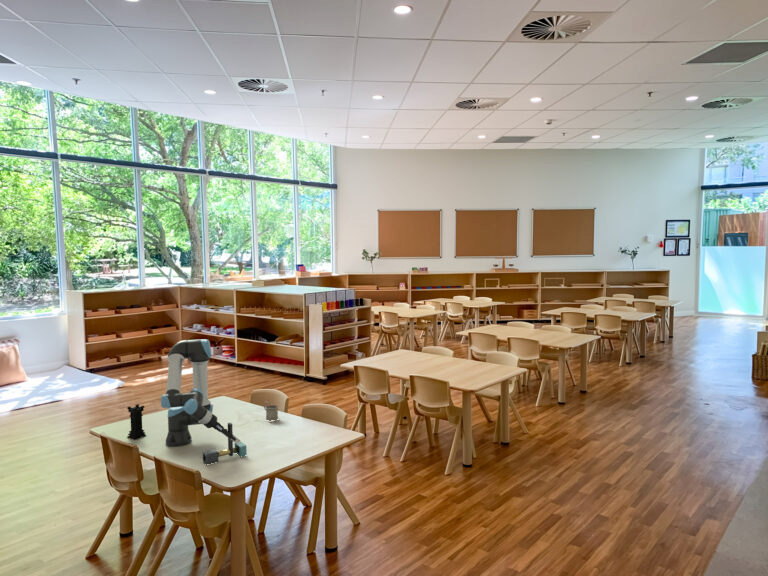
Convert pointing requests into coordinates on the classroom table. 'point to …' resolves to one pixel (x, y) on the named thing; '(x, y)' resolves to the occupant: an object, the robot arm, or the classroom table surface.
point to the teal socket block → (241, 449)
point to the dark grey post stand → (229, 445)
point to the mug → (271, 412)
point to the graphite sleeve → (210, 456)
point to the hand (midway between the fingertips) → (236, 440)
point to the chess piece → (136, 422)
